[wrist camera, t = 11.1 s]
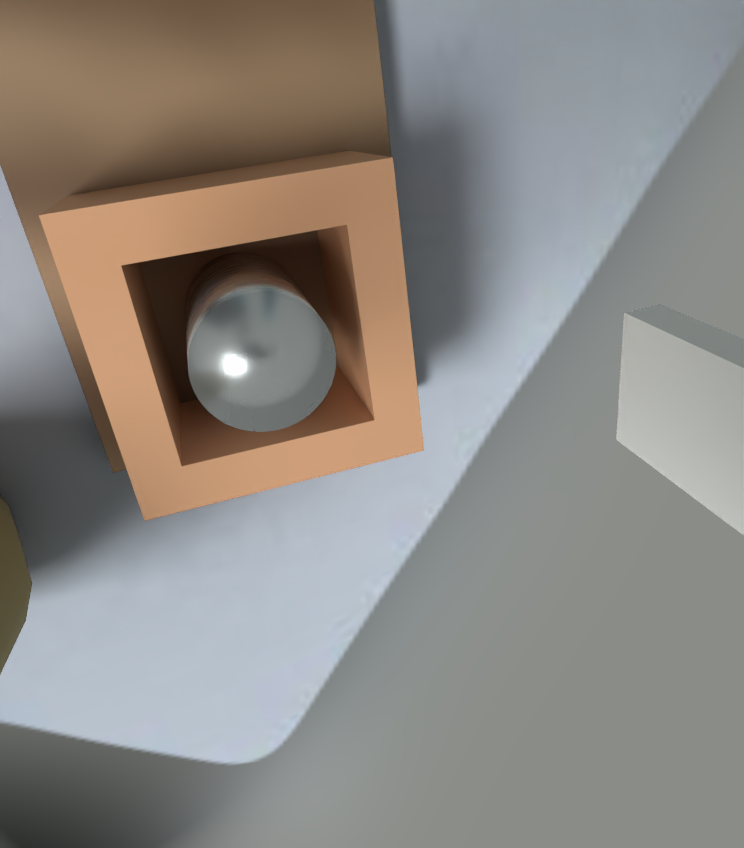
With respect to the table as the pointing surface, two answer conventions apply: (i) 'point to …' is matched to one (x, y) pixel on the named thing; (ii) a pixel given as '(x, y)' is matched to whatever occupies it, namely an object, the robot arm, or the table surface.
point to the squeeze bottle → (11, 584)
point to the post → (255, 344)
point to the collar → (225, 226)
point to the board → (179, 124)
